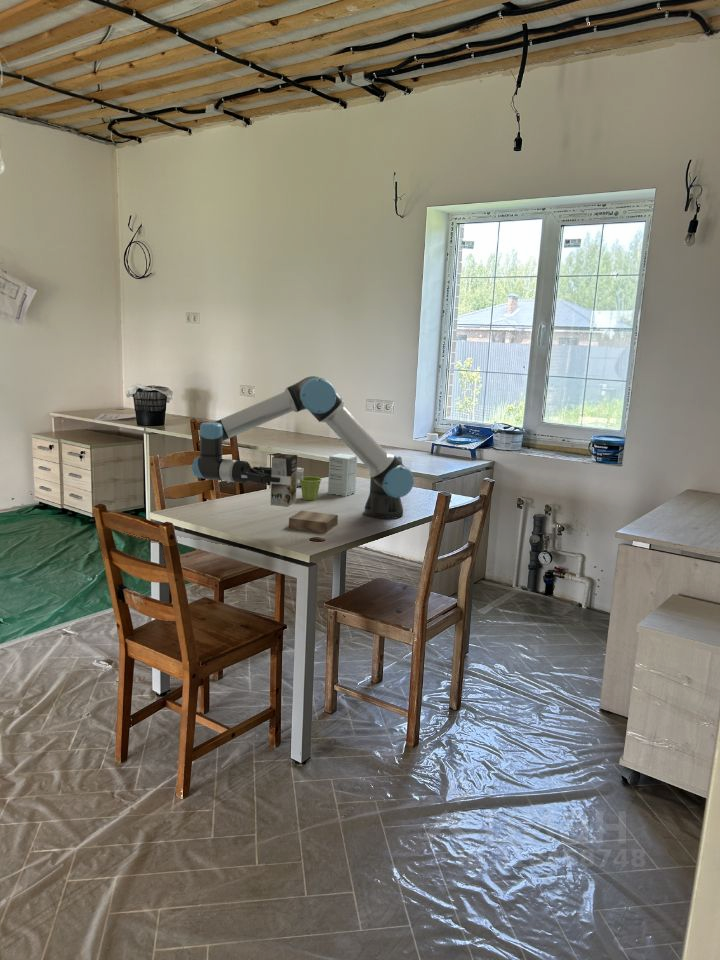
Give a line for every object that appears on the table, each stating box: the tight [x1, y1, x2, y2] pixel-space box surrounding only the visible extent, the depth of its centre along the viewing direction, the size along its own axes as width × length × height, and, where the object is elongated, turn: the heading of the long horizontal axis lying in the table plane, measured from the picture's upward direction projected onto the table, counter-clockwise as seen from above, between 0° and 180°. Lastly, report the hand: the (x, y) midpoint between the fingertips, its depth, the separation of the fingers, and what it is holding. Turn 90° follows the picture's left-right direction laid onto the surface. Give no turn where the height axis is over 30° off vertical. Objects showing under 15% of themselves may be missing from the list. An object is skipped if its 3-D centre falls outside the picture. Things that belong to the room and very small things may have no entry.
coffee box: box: [270, 453, 298, 508], centre depth 223 cm, size 9×6×16 cm
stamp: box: [296, 466, 305, 486], centre depth 304 cm, size 9×7×8 cm
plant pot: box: [300, 476, 323, 501], centre depth 280 cm, size 9×9×9 cm
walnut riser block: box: [288, 510, 339, 534], centre depth 239 cm, size 14×12×4 cm
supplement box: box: [327, 453, 358, 497], centre depth 293 cm, size 10×9×17 cm
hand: (296, 478), depth 221 cm, fingers closed on coffee box, 9 cm apart
